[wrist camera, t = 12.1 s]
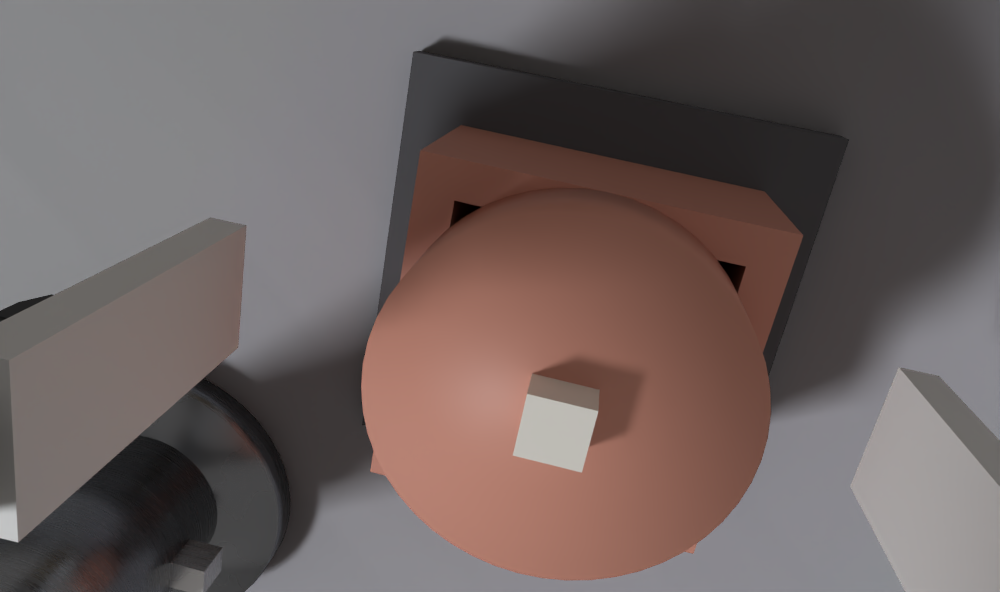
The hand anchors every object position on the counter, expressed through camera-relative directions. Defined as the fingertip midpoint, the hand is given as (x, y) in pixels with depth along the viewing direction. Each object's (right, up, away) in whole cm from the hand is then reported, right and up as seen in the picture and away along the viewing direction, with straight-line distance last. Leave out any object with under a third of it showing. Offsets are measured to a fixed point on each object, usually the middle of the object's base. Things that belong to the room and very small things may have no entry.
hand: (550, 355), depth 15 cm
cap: (+1, +1, +4) cm, 4 cm away
